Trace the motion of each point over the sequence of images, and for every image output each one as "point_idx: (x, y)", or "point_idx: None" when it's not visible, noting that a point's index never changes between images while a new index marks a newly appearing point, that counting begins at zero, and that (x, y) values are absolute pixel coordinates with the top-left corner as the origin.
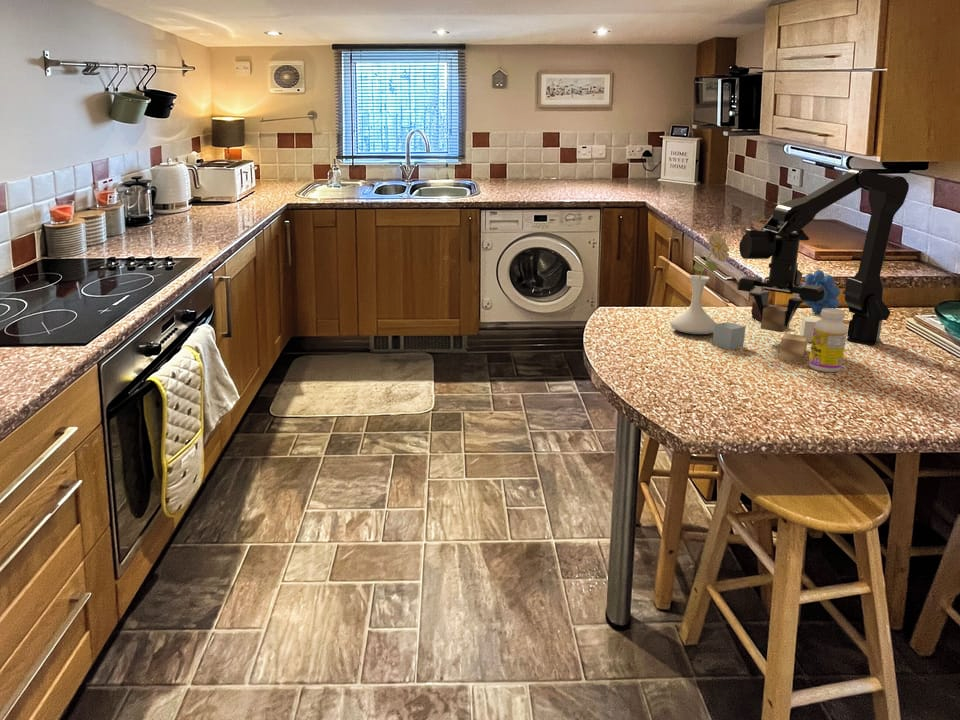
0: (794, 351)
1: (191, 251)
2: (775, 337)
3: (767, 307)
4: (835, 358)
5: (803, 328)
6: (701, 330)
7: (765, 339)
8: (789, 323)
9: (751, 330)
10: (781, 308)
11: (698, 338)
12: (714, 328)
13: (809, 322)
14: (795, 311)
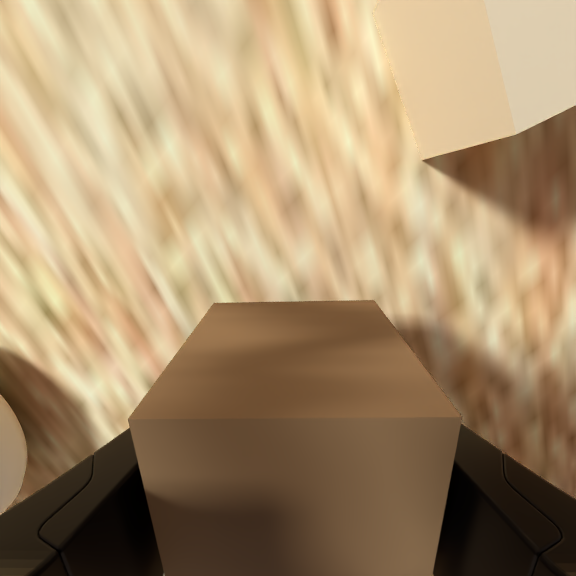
0: None
1: None
2: (260, 201)
3: (189, 572)
4: None
5: (448, 99)
6: (2, 511)
7: (238, 292)
8: (386, 317)
9: (70, 133)
10: (342, 518)
11: (33, 483)
12: None
13: (553, 114)
14: (522, 468)
